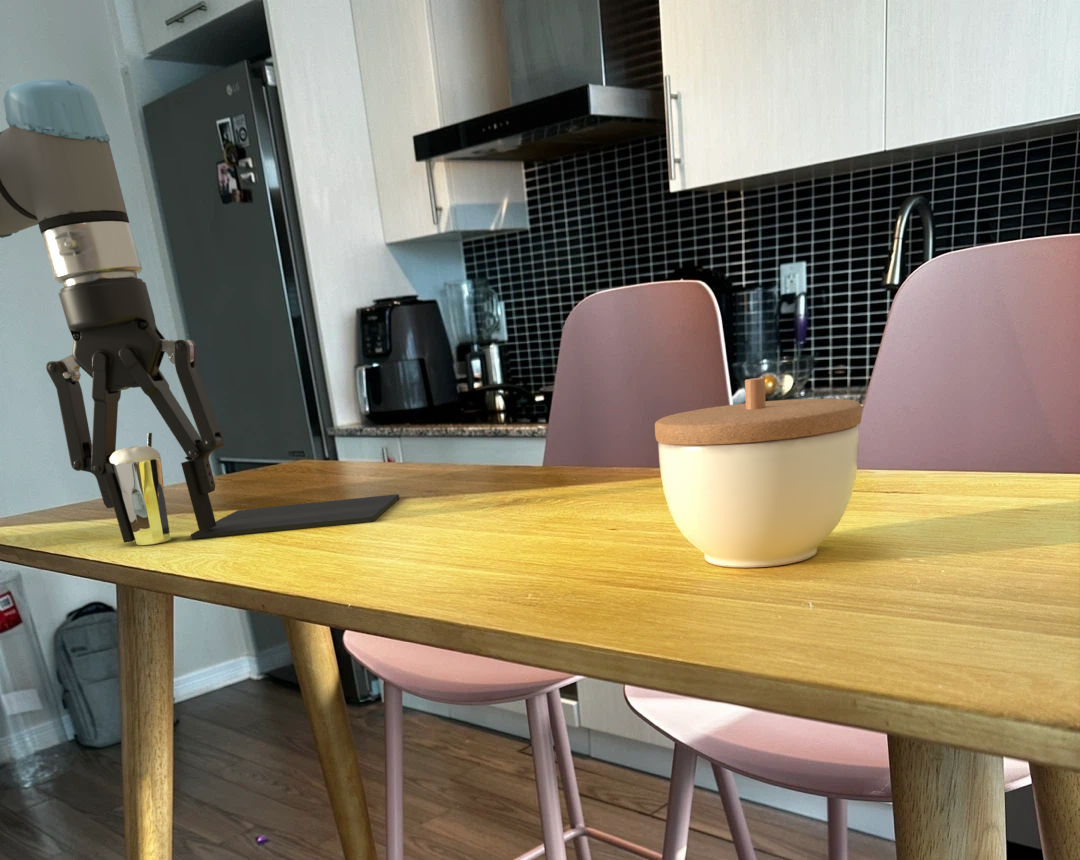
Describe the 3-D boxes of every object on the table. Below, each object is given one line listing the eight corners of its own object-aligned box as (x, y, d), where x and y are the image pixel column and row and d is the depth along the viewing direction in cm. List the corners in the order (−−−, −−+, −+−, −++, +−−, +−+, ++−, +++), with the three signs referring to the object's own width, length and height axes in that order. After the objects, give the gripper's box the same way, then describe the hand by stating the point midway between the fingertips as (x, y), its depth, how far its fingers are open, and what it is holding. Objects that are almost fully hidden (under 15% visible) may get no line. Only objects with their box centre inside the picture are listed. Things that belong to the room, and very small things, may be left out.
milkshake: (191, 534, 102) (170, 431, 99) (160, 545, 98) (136, 437, 94) (152, 536, 104) (130, 434, 100) (119, 547, 99) (94, 440, 95)
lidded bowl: (794, 586, 59) (790, 385, 55) (624, 569, 67) (611, 394, 64) (896, 540, 67) (899, 362, 63) (733, 530, 76) (727, 373, 72)
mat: (191, 539, 99) (190, 534, 99) (238, 514, 112) (237, 510, 112) (373, 521, 98) (372, 516, 98) (399, 498, 111) (398, 494, 111)
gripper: (-26, 298, 90) (56, 556, 98) (190, 260, 88) (256, 526, 96) (19, 300, 97) (92, 541, 105) (220, 265, 95) (279, 513, 103)
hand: (170, 533), depth 100 cm, fingers open, 7 cm apart
